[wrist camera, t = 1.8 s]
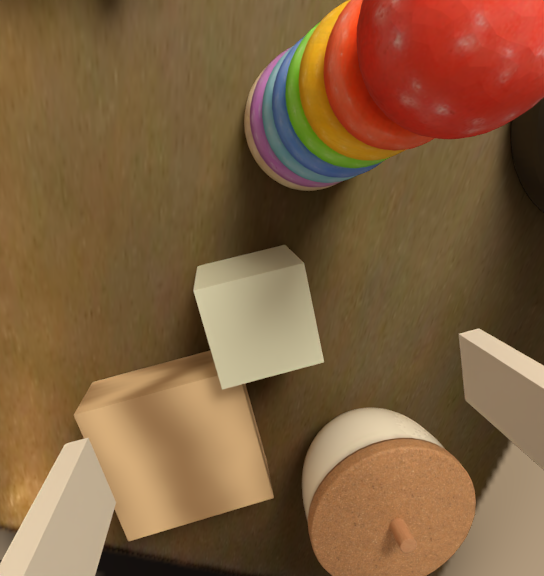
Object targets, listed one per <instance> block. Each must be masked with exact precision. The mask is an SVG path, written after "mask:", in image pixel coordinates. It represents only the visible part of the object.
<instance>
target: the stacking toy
mask: <svg viewBox="0 0 544 576" xmlns="http://www.w3.org/2000/svg"><path fill="white" fill-rule="evenodd" d="M542 98H544V0H348V1H346V2H344V3H343V4H341V5H339V6H338V7H336V8H335V9H334V10H332V11H331V12H330V13H329V14H328V15H327V16H326V17H324V18H323V20H322V21H321V22H319V23H318V24H317V25H316V26H315V27H313V28H312V29H311V30H310V31H309V32H308V33H307V35H306V36H305V37H303V38H302V39H301V40H300V41H298V42H297V43H296V44H295V45H294V46H293V47H291V48H289V49H287V50H286V51H284V52H282V53H281V54H280V55H278V56H277V57H276V58H275V59H274V60H273V61H272V62H271V63H270V64H269V65H268V66H267V67H266V68H265V69H264V70H263V71H262V72H261V74H260V75H259V76H258V78H257V79H256V81H255V82H254V84H253V86H252V88H251V90H250V93H249V96H248V99H247V103H246V108H245V116H244V127H245V135H246V140H247V143H248V146H249V149H250V151H251V154H252V155H253V157H254V159H255V161H256V162H257V164H258V165H259V166H260V168H261V169H262V170H263V171H264V172H265V173H266V174H267V175H268V176H269V177H271V178H272V179H273V180H275V181H276V182H278V183H280V184H282V185H284V186H286V187H289V188H292V189H296V190H303V191H314V190H320V189H324V188H328V187H331V186H333V185H336V184H338V183H339V182H342V181H344V180H348V179H351V178H353V177H355V176H357V175H359V174H362V173H365V172H367V171H369V170H371V169H373V168H374V167H376V166H377V165H379V164H380V163H381V162H383V161H384V160H386V159H388V158H389V157H392V156H394V155H397V154H399V153H401V152H403V151H404V150H406V149H411V148H415V147H417V146H420V145H423V144H425V143H427V142H429V141H431V140H433V139H434V138H439V139H459V138H466V137H472V136H476V135H480V134H484V133H487V132H490V131H492V130H494V129H497V128H499V127H501V126H503V125H505V124H507V123H508V122H510V121H512V120H514V119H515V118H517V117H518V116H520V115H522V114H523V113H525V112H526V111H528V110H529V109H531V108H532V107H533V106H535V105H536V104H537V103H538V102H539V101H540V100H541V99H542Z"/></svg>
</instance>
